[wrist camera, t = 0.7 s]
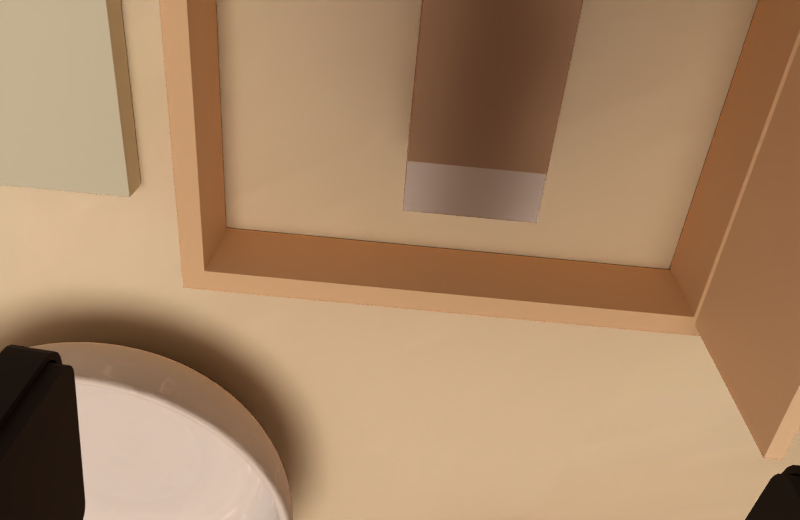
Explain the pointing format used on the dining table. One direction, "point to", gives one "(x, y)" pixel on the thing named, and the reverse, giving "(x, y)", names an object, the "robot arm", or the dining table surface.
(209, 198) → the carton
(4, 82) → the board
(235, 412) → the serving bowl
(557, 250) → the dining table surface
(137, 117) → the dining table surface
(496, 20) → the walnut box
